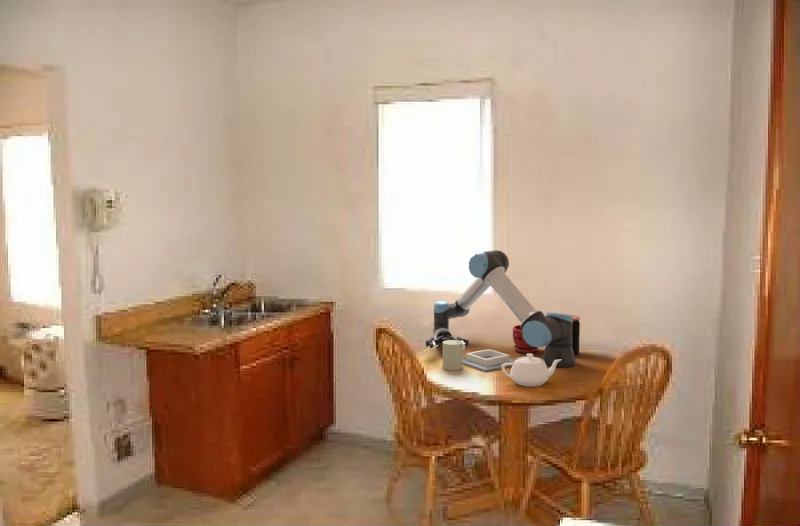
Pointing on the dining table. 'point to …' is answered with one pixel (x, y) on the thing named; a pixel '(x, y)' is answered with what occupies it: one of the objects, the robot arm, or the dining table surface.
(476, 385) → the dining table surface
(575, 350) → the coffee jar
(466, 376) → the dining table surface
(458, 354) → the can
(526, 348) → the plant pot
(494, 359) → the tray
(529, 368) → the teapot
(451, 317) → the robot arm
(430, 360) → the dining table surface
